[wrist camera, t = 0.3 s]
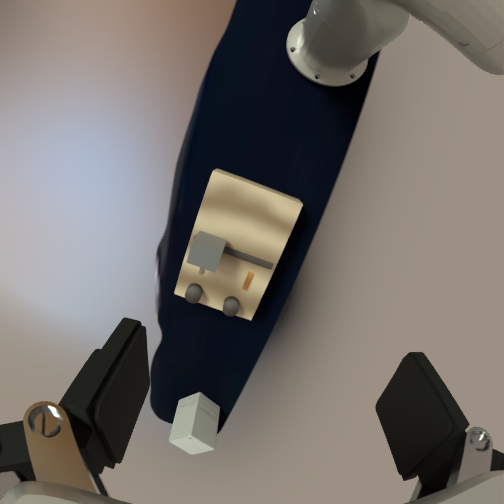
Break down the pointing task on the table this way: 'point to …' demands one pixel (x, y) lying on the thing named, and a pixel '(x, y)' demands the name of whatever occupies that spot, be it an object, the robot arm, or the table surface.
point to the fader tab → (206, 251)
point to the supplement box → (195, 424)
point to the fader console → (239, 243)
